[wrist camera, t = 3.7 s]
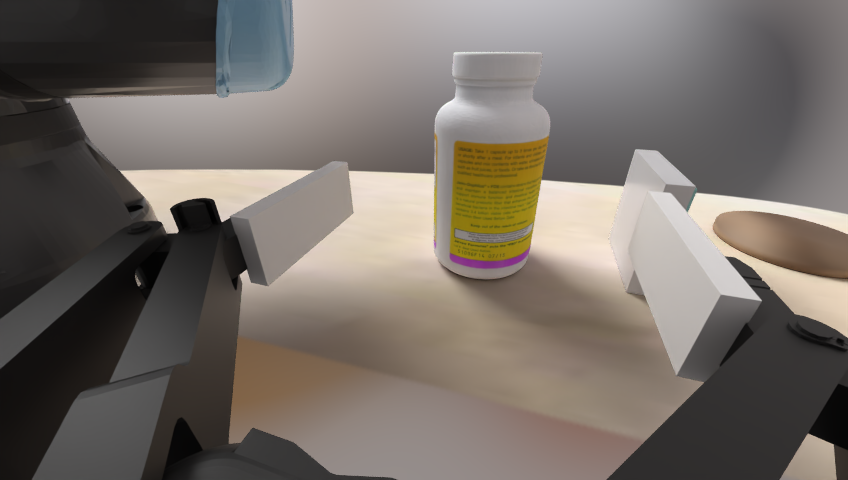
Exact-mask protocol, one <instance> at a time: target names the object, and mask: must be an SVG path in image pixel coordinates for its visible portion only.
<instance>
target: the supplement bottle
mask: <svg viewBox="0 0 848 480" xmlns="http://www.w3.org/2000/svg"><path fill="white" fill-rule="evenodd" d="M541 63H542V53H540V52H456V53H454V58H453V71H452V75H453V76H454V82H455V83H456V95H455V98H454V99H453V100H452V101H450V102H448V103H446V104H445V105H444V106H443V107H442V108H441V109H440V110H439V112H438V114H437V116H436V119H435V181H434V251H435V255H436V257H437V259H438V260H439V261H440V263H441V264H442V265H444V266H445V267H446V268H447V269H449V270H451V271H452V272H454V273H457V274H459V275H462V276H465V277H469V278H475V279H496V278H502V277H506V276H509V275H511V274H513V273H515V272H517V271H518V270H520V269H521V268H522V267H523V266H524V265H525V263H526V261H527V259H528V255H529V250H530V245H531V238H532V232H533V227H534V221H535V214H536V208H537V202H538V196H539V190H540V184H541V178H542V172H543V166H544V161H545V155H546V149H547V143H548V138H549V131H550V118H549V115H548V113H547V111H546V110H545V109H544V108H543V107H542V106H541V105H540V104H538V103H536V102H535V101H534V100H533V86H534V84H536V82H537V77H539V76H540V71H541Z"/></svg>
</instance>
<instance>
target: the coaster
mask: <svg viewBox="0 0 848 480" xmlns="http://www.w3.org/2000/svg"><path fill="white" fill-rule="evenodd" d="M713 230H714V232H715V233H716V235H717V236H718V237H719V238H720V239H722V240H723V241H724V242H726V243H727V244H729V245H731V246H732V247H734V248H736V249H738V250H740V251H742V252H744V253H746V254H748V255H751V256H753V257H756V258H758V259H761V260H764V261H766V262H769V263H772V264H775V265H778V266H782V267H785V268H789V269H792V270H797V271H801V272H805V273H810V274H815V275H821V276H827V277H836V278H848V234H845V233H843V232H840V231H837V230H835V229H832V228H829V227H826V226H823V225H820V224H816V223H813V222H809V221H806V220H801V219H797V218H793V217H788V216H783V215H778V214H771V213H764V212H754V211H733V212H726V213H723V214H720V215H719V216H718V217H717V218H716V220H715V222H714V224H713Z"/></svg>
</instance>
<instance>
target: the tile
mask: <svg viewBox="0 0 848 480" xmlns="http://www.w3.org/2000/svg"><path fill="white" fill-rule="evenodd" d="M695 187H696V186H694V185H693V184H692V183H691V182H690V181H689V180H688V179H687V178H686V177H685V176H684V175H683V174H681V173H680V172H679V171H678V170H677V169H676V168H675V167H674V166H673V165H672V164H671V163H670V162H669V161H667V160H666V159H665V158H664V157H663V156H662V155H661V154H660V153H659V152H658V151H651V150H635V153H634V156H633V159H632V163H631V166H630V169H629V172H628V176H627V179H626V183H625V186H624V189H623V192H622V195H621V199H620V202H619V205H618V208H617V212H616V215H615V218H614V222H613V225H612V228H611V231H610V235H609V238H608V239H609V242H610V245H611V248H612V251H613V254H614V257H615V260H616V263H617V266H618V269H619V272H620V275H621V278H622V281H623V284H624V287H625V290H626V292H627V293H633V294H640V295H644V292H643V290H642V287H641V285H640V282H639V279H638V277H637V274H636V272H635V269H634V267H633V264H632V262H631V259H630V256H629V254H628V248H629V245H630V242H631V239H632V236H633V234H634V231H635V228H636V225H637V222H638V219H639V216H640V213H641V210H642V208H643V205H644V202H645V199H646V196H647V193H648V191H655V192H666V193H671V194H672V195H673V196H674V197H675V198H676V200H677V201H678V202H679V203H680V204H681V206H682V207H683V208H684V209H685V210H686V211H687V213H688V210H689V208H690V206H691V203H692V201H693V198H694V196H695V194H696V191H697V189H696V188H695Z"/></svg>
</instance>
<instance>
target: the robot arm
mask: <svg viewBox="0 0 848 480" xmlns="http://www.w3.org/2000/svg"><path fill="white" fill-rule="evenodd" d="M293 55H294V38H293V10H292V0H0V480H396V479H393V478H386V477H365V476H345V475H335V474H332V473H330V472H329V471H327V470H326V469H325V468H324V467H323V466H321V465H320V464H319V463H318V462H317V461H315V460H314V459H313V458H311V456H309V455H308V454H307V453H306V452H304V451H303V450H302V449H301V448H300V447H298V446H297V445H296V444H295V443H293V442H291V441H288V440H285V439H282V438H280V437H277V436H274V435H271V434H268V433H266V432H263V431H260V430H257V429H255V428H252V429H251V431H250V432H249V433H248V434H247V436H246V437H245V438H244V440H243V441H242V442H241V443H236V444H229V443H228V441H229V439H228V438H229V426H230V415H231V404H232V393H233V380H234V369H235V358H236V347H237V336H238V325H239V313H240V302H241V291H242V281H241V278H240V274H241V273H242V272H244V271H245V270H246V269H247V271H248V274H249V277H250V280H251V283H256V284H261V285H265V286H269V285H270V284H271V283H272V282H274V281H275V280H276V279H277V278H278V277H279V276H281V275H282V274H283V273H284V272H285V271H286V270H288V269H289V268H290V267H291V266H292V265H293V264H295V263H296V262H297V261H298V260H299V259H300V258H302V257H303V256H304V255H305V254H306V253H307V252H309V251H310V250H311V249H312V248H313V247H314V246H316V245H317V244H318V243H319V242H320V241H321V240H323V239H324V238H325V237H326V236H327V235H328V234H330V233H331V232H332V231H333V230H334V229H335V228H337V227H338V226H339V225H340V224H341V223H342V222H344V221H345V220H346V219H347V218H348V217H350V216H351V215H352V214H353V205H352V197H351V188H350V180H349V172H348V164H347V162H339V161H333V162H331V163H329V164H327V165H325V166H324V167H322V168H320V169H318V170H316V171H314V172H312V173H310V174H308V175H306V176H305V177H303V178H301V179H299V180H297V181H295V182H293V183H291V184H290V185H288V186H286V187H284V188H282V189H280V190H278V191H276V192H275V193H273V194H271V195H269V196H267V197H265V198H263V199H261V200H260V201H258V202H256V203H254V204H252V205H250V206H248V207H246V208H245V209H243V210H241V211H239V212H237V213H235V214H233V215H231V216H230V218H229V219H227V220H226V221H224V222H221V220H220V217H219V214H218V211H217V208H216V205H215V202H214V200H212V199H208V198H199V199H192V200H187V201H184V202H180V203H178V204H176V205H174V206H173V207H171V208H170V210H171V213H172V215H173V218H174V220H175V222H176V225H177V227H178V230H179V232H178V233H174V234H166V231H165V229H164V227H163V224H162V223H161V222H159V221H158V220H157V218H156V216H155V213H154V211H153V209H152V207H151V205H150V204H149V202H148V201H147V200H146V198H145V197H144V196H143V195H142V194H141V193H140V192H139V191H138V190H137V189H136V188H135V187H134V186H133V185H132V184H131V183H130V182H129V181H128V180H127V179H126V177H125V176H124V175H123V174H122V173H121V172H120V171H119V170H118V169H117V168H116V167H115V166H114V165H113V164H112V163H111V162H110V161H109V160H108V159H107V158H106V157H105V155H104V154H103V153H102V152H101V151H100V150H99V149H98V148H97V147H96V146H95V145H94V144H93V143H92V142H91V141H90V139H89V138H88V137H87V135H86V134H85V132H84V130H83V128H82V126H81V124H80V122H79V120H78V118H77V116H76V114H75V112H74V110H73V108H72V106H71V104H70V101H69V99H68V98H86V97H123V96H162V95H196V94H197V95H199V94H217V96H218V97H222V98H223V97H228V95H229V94H230V93H244V92H256V91H257V92H258V91H270V90H273V89H277V88H278V87H280V86H282V85H283V84H284V83H285V82H286V81H287V79H288V78H289V76H290V74H291V71H292V67H293ZM628 254H629V256H630V259H631V262H632V264H633V267H634V269H635V272H636V274H637V277H638V279H639V282H640V285H641V287H642V290H643V292H644V295H645V297H646V300H647V303H648V305H649V308H650V310H651V313H652V315H653V318H654V320H655V323H656V326H657V328H658V331H659V333H660V336H661V338H662V341H663V343H664V346H665V349H666V351H667V354H668V356H669V359H670V361H671V364H672V366H673V369H674V372H675V374H676V376H679V377H683V378H688V379H692V380H697V381H702V382H705V383H704V384H703V385H702V386H700V387H699V388H698V389H697V390H696V391H695V392H694V393H693V394H692V395H691V396H690V397H689V398H688V399H687V400H686V401H685V402H684V403H683V404H682V405H681V406H680V407H679V408H678V409H677V410H676V411H675V412H674V413H673V414H672V415H671V416H670V417H669V418H668V419H667V420H666V421H665V422H664V423H663V424H662V425H661V426H660V427H659V428H658V429H657V430H656V431H655V432H654V433H653V434H652V435H651V436H650V437H649V438H648V439H647V440H646V441H645V442H644V443H643V444H642V445H641V446H640V447H639V448H638V449H637V450H636V451H635V452H634V453H633V454H632V455H631V456H630V457H629V458H628V459H627V460H626V461H625V462H624V463H623V464H622V465H621V466H620V467H619V468H618V469H617V470H616V471H615V472H614V473H613V474H612V475H611V476H610V477H609V478H608V479H607V480H779V479H780V478H781V476H782V475H783V473H784V471H785V470H786V468H787V466H788V465H789V463H790V461H791V460H792V458H793V457H794V455H795V453H796V452H797V450H798V448H799V447H800V445H801V443H802V442H803V440H804V439H805V437H806V435H807V434H808V433H809V434H811V435H813V436H816V437H818V438H820V439H822V440H825V441H827V442H829V443H832V444H834V452H835V464H836V477H837V480H848V338H847V337H845V336H844V335H843V334H841V333H840V332H838V331H837V330H835V329H833V328H831V327H829V326H827V325H825V324H823V323H821V322H819V321H816V320H813V319H810V318H808V317H805V316H800V315H796V314H794V313H793V312H792V311H791V310H790V309H789V307H788V306H787V305H786V304H785V303H784V302H783V301H782V300H781V299H780V298H779V297H778V296H777V295H776V293H775V292H774V291H773V290H770V287H769V286H768V285H767V284H766V283H765V282H764V281H762V278H761V277H760V276H759V275H758V274H757V273H756V272H755V271H754V270H753V269H752V268H751V267H749V266H748V265H746V264H745V263H743V262H741V261H740V260H738V259H737V258H734V257H726V256H724V255H723V254H722V253H721V252H720V251H719V249H718V248H717V247H716V246H715V245H714V243H713V242H712V241H711V240H710V239H709V238H708V236H707V235H706V234H705V233H704V232H703V230H702V229H701V228H700V227H699V226H698V225H697V223H696V222H695V221H694V220H693V219H692V217H691V216H690V215H689V214H688V213H687V211H686V210H685V209H684V208H683V207H682V206H681V204H680V203H679V202H678V201H677V200H676V198H675V197H674V196H673V195H672V194H671V193H666V192H655V191H648V193H647V196H646V199H645V202H644V205H643V208H642V210H641V213H640V216H639V219H638V222H637V225H636V228H635V231H634V234H633V236H632V239H631V242H630V245H629V248H628ZM135 273H136V275H137V277H138V279H139V281H140V283H141V285H140V286H139V287H138V285H137V283H136V280H135Z"/></svg>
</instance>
